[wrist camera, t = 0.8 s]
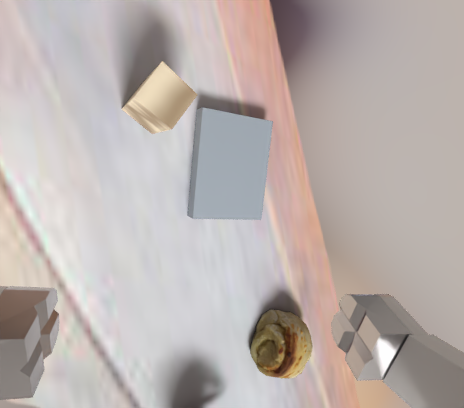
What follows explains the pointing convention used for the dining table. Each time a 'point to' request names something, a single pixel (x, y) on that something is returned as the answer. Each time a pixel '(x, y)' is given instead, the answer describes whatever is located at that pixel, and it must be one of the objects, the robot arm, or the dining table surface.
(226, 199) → the base plate
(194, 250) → the dining table surface
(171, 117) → the maple block
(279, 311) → the pastry
